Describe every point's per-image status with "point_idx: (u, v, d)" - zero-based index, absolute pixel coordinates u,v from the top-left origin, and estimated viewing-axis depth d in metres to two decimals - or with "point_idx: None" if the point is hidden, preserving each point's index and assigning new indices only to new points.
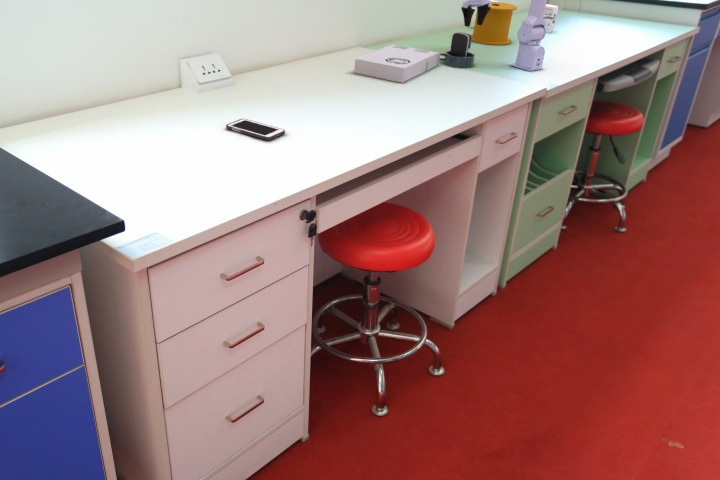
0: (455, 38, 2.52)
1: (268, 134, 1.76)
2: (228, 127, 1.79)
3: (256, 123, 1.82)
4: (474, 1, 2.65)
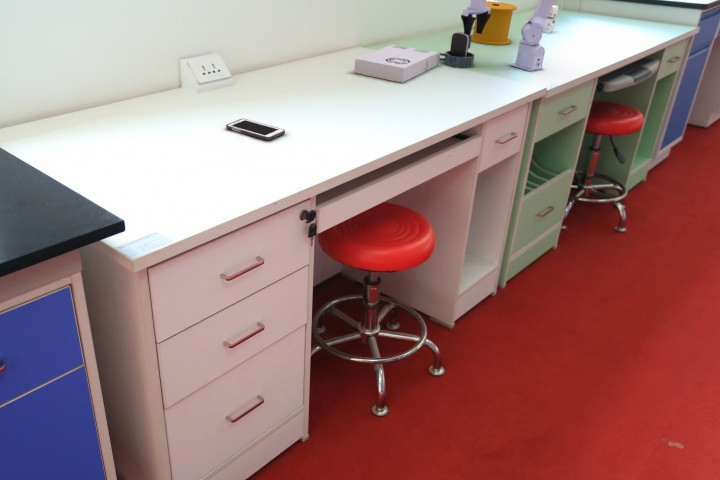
0: (455, 38, 2.52)
1: (268, 134, 1.76)
2: (228, 127, 1.79)
3: (256, 123, 1.82)
4: (474, 9, 2.48)
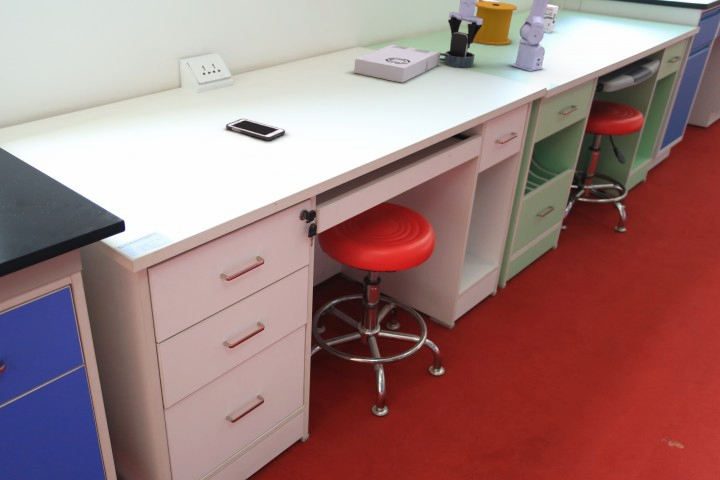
0: (454, 38, 2.52)
1: (268, 134, 1.76)
2: (228, 127, 1.79)
3: (256, 123, 1.82)
4: (473, 16, 2.47)
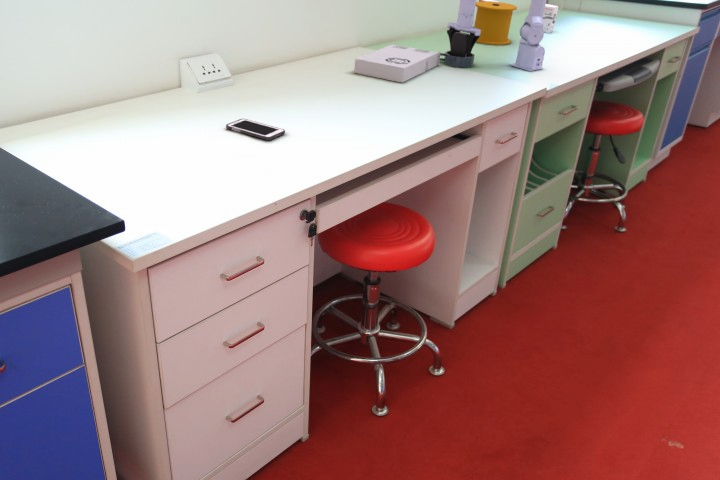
0: (455, 38, 2.52)
1: (268, 134, 1.76)
2: (228, 127, 1.79)
3: (256, 123, 1.82)
4: (471, 26, 2.49)
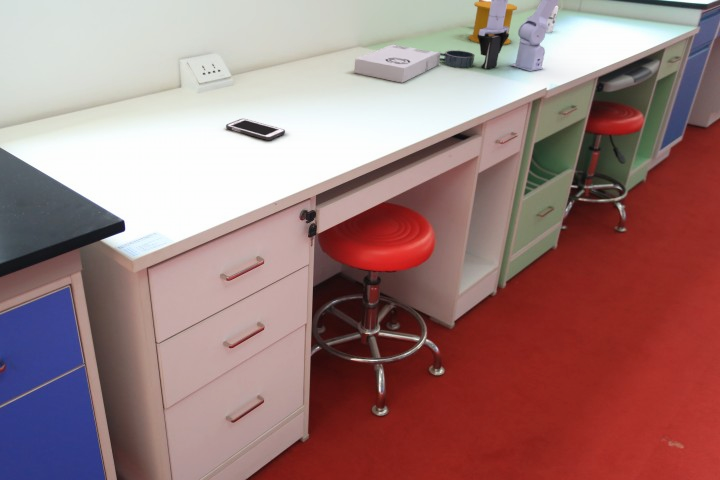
0: (494, 43, 2.48)
1: (268, 134, 1.76)
2: (228, 127, 1.79)
3: (256, 123, 1.82)
4: None
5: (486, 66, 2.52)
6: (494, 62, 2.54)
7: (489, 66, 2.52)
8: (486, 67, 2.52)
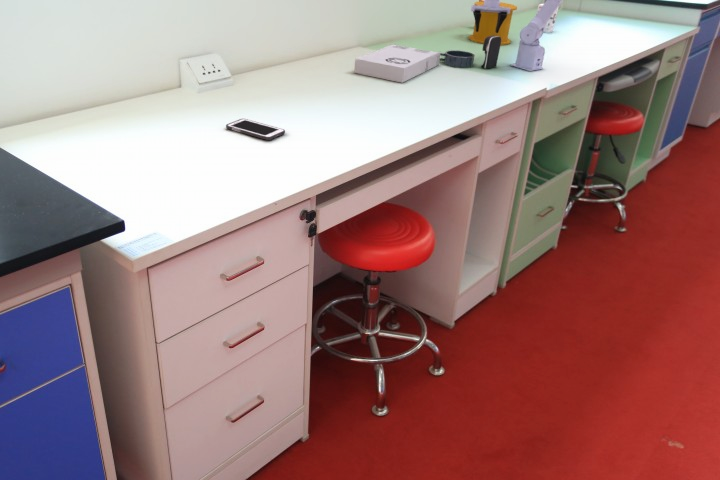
0: (494, 43, 2.49)
1: (268, 134, 1.76)
2: (228, 127, 1.79)
3: (256, 123, 1.82)
4: None
5: (486, 66, 2.52)
6: (494, 62, 2.54)
7: (489, 66, 2.52)
8: (486, 67, 2.52)
